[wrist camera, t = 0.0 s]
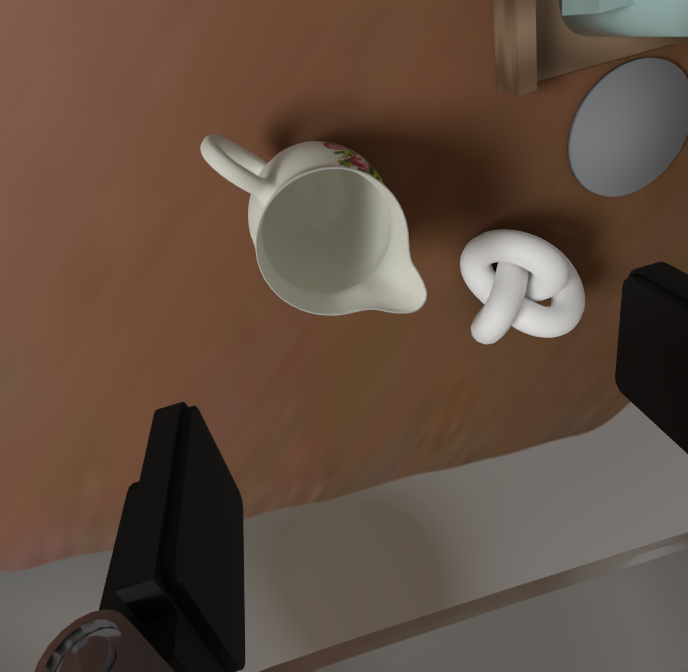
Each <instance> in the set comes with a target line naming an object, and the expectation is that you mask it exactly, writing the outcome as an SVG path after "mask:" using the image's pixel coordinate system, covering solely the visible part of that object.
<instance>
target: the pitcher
mask: <svg viewBox="0 0 688 672" xmlns="http://www.w3.org/2000/svg"><path fill="white" fill-rule="evenodd" d="M201 153H202V156H203V157H204V159H205V160H206V161H207V163H208V164H209V165H210V166H211V167H212V168H213V169H214V170H216V171H217V172H218V173H219V174H221V175H222V176H223V177H225V178H226V179H227V180H229V181H230V182H232V183H233V184H235V185H237V186H238V187H240V188H242V189H243V190H245V191H247V192H249V193H251V196H250V201H249V209H248V219H249V229H250V234H251V237H252V240H253V243H254V246H255V248H256V256H257V262H258V265H259V268H260V271H261V273H262V275H263V277H264V279H265V281H266V282H267V284H268V285H269V286H270V288H271V289H272V290H273V291H274V292H275V293H276V294H277V295H278V296H279V297H280V298H281V299H283V300H284V301H285V302H287V303H288V304H290V305H292V306H294V307H296V308H298V309H300V310H303V311H306V312H309V313H313V314H318V315H344V314H349V313H354V312H358V311H363V310H380V311H385V312H391V313H412V312H415V311H417V310H419V309H420V308H421V307H422V306H423V305H424V303H425V301H426V299H427V290H426V287H425V283H424V281H423V279H422V277H421V275H420V274H419V272H418V270H417V269H416V267H415V266H414V264H413V262H412V259H411V255H410V248H409V232H408V226H407V221H406V218H405V215H404V212H403V210H402V208H401V206H400V204H399V202H398V201H397V199H396V198H395V196H394V195H393V194H392V192H391V191H390V190H389V189H388V188H387V187H386V186H385V184H384V182H383V180H382V179H381V177H380V176H379V174H378V173H377V171H376V170H375V169H374V168H373V167H372V165H371V164H370V163H369V162H367V161H366V160H365V159H364V158H363V157H362V156H360V155H359V154H357V153H356V152H354V151H353V150H351V149H349V148H346V147H344V146H342V145H339V144H336V143H331V142H325V141H309V142H303V143H299V144H295V145H293V146H290V147H288V148H286V149H284V150H283V151H281V152H279V153H278V154H277V155H276V156H275V157H274V158H272V159H271V160H270V161H269V162H265V161H264V160H262V159H261V158H259V157H257V156H256V155H254V154H253V153H251V152H249V151H248V150H246V149H244V148H243V147H241V146H239V145H237V144H235V143H233V142H231V141H229V140H227V139H225V138H223V137H221V136H218V135H215V134H211V135H208V136H206V137H205V139H204V140H203V142H202V144H201ZM247 169H248V170H247ZM250 171H251V172H250ZM252 172H253V173H252ZM255 174H256V175H255Z"/></svg>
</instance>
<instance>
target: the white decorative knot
mask: <svg viewBox="0 0 688 672" xmlns="http://www.w3.org/2000/svg"><path fill="white" fill-rule="evenodd" d="M495 262H498V265H497V269H496V272H495V271H494V269H493V267H492V265H491V263H495ZM460 270H461V273H462V276H463V279H464V281H465V283H466V284H467V286H468V287H469V289H470V290H471V291H472V292H473V294H474V295H475V296H476V297H477V298H478V299H479V300H480V301H481V302H482V303H483V304H484V306H483V307H482V308H481V309H480V311H479V312H478V313H477V315H476V317H475V318H474V320H473V323H472V325H471V332H472V336H473V337H474V338H475V339H476V341H477V342H480V343H483V344H492V343H495V342H496V341H497V340H499V339H500V338H501V337H502V336H503V335H504V334H505V333H506V332H507V331H508V329H509V328H510V326H512V327H514V328H516V329H518V330H520V331H522V332H524V333H526V334H529V335H533V336H537V337H557V336H561V335H564V334H566V333H568V332H569V331H571V330H572V329H574V327H575V326H576V325H577V323H578V322H579V320H580V318H581V316H582V313H583V311H584V306H585V295H584V289H583V285H582V282H581V279H580V277H579V275H578V273H577V271H576V269H575V268H574V266H573V265H572V263H571V262H570V261H569V259H568V258H567V257H566V256H565V255H564V254H563V253H562V252H561V251H560V250H559V249H557V248H556V247H555V246H553V245H552V244H550V243H549V242H547V241H546V240H544V239H542V238H540V237H538V236H535V235H532V234H529V233H526V232H522V231H517V230H508V229H499V230H491V231H488V232H484V233H482V234H480V235H479V236H477V237H475V238H473V239H472V240H470V241H469V242H468V243H467V245H466V246H465V248H464V250H463V252H462V255H461V258H460ZM529 272H531V273H529ZM548 298H551V305H550V306H549V307H544V306H541V305H539V304H537V303H535V302H538V301H542V300H545V299H548Z"/></svg>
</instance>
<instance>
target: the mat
mask: <svg viewBox="0 0 688 672" xmlns="http://www.w3.org/2000/svg"><path fill="white" fill-rule="evenodd" d="M687 135H688V79H687V77H686V75H685V74H684V72H683V71H682V70H681V69H680V68H679V67H678V66H677V65H675V64H673V63H672V62H670V61H667V60H664V59H660V58H639V59H634V60H631V61H628V62H625V63H623V64H621V65H619V66H617V67H615V68H614V69H612V70H611V71H609V72H608V73H607V74H605V75H604V76H603V77H602V78H601V79H600V80H599V81H598V82H597V83H596V84H595V85H594V86H593V87H592V88H591V89H590V91H589V92H588V93H587V94H586V96H585V98H584V99H583V101H582V102H581V104H580V106H579V108H578V109H577V111H576V114H575V116H574V119H573V121H572V125H571V128H570V132H569V137H568V159H569V164H570V167H571V170H572V172H573V174H574V176H575V178H576V179H577V181H578V182H579V183H580V184H581V185H582V186H583V187H585V188H586V189H588V190H589V191H591V192H594V193H596V194H599V195H602V196H610V197H615V196H623V195H627V194H630V193H633V192H635V191H637V190H640V189H642V188H643V187H645V186H647V185H648V184H650V183H651V182H652V181H654V180H655V179H656V178H657V177H659V176H660V175H661V174H662V173H663V172H664V171H665V170H666V169H667V168H668V166H669V165H670V164H671V163H672V161H673V160H674V159H675V157H676V156H677V154H678V153H679V151H680V150H681V148H682V146H683V144H684V142H685V140H686V137H687Z"/></svg>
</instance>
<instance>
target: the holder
mask: <svg viewBox="0 0 688 672" xmlns="http://www.w3.org/2000/svg"><path fill="white" fill-rule="evenodd" d="M492 4H493V23H494V41H495V59H496V77H497V91H500V92H505V93H510V94H515V95H523V94H526V93H530V92H533V91H537V81H540V80H544V79H547V78H551V77H555V76H558V75H562V74H566V73H569V72H573V71H576V70H580V69H584V68H587V67H591V66H595V65H598V64H602V63H605V62H609V61H613V60H616V59H620V58H624V57H627V56H631V55H634V54H638V53H642V52H645V51H649V50H653V49H656V48H660V47H663V46H667V45H671V44H678V45H688V37H584V36H580V35H577V34H575V33H573V32H572V31H571V30H570V29H569V28H568V27H567V26H566V24H565V23H564V21H563V19H562V16H561V12H560V7H559V0H492Z"/></svg>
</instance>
